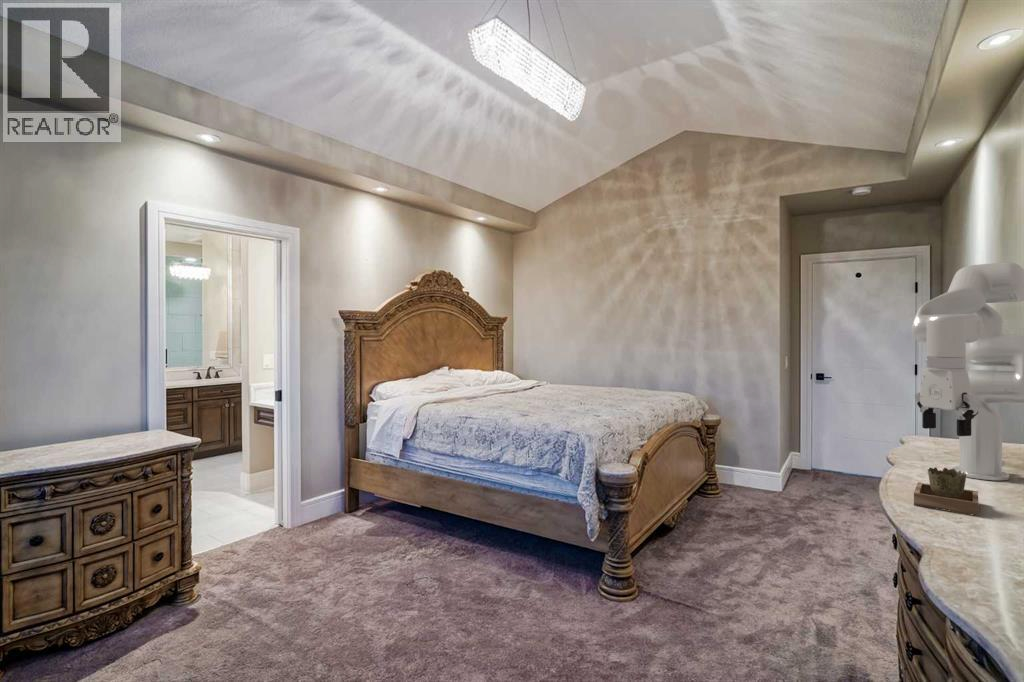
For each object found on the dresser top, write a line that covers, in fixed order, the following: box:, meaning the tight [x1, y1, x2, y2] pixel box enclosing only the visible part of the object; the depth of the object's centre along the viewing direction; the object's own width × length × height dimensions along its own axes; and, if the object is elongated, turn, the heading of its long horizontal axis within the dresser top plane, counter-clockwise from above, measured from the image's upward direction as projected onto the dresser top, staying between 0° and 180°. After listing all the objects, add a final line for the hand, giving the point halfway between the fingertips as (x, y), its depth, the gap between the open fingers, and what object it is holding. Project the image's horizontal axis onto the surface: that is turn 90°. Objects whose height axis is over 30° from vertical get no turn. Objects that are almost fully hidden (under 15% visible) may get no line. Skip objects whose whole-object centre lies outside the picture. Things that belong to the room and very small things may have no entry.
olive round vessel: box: [927, 467, 967, 499], centre depth 129 cm, size 8×7×8 cm
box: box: [913, 482, 979, 516], centre depth 129 cm, size 12×12×3 cm
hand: (945, 431), depth 129 cm, fingers open, 9 cm apart
